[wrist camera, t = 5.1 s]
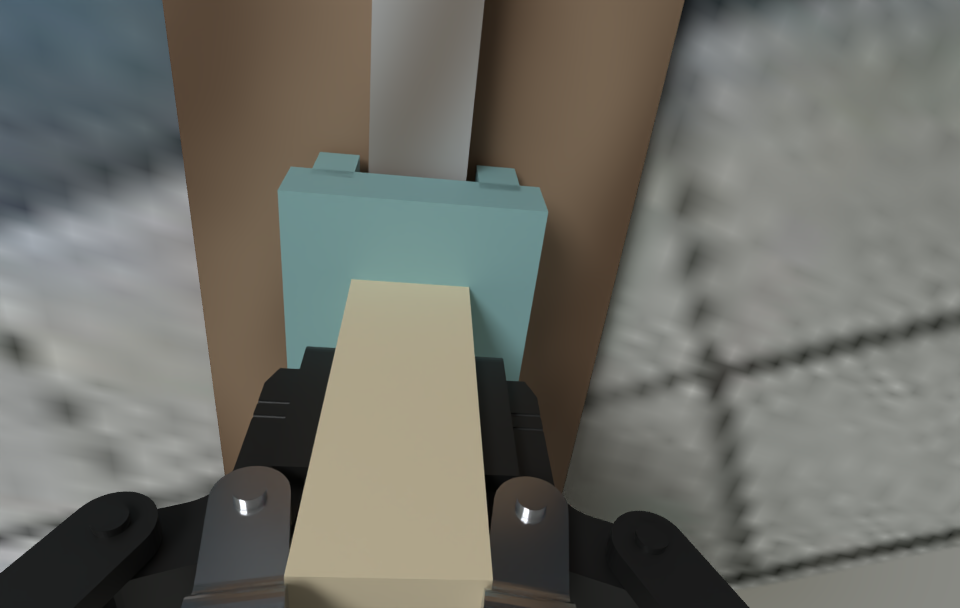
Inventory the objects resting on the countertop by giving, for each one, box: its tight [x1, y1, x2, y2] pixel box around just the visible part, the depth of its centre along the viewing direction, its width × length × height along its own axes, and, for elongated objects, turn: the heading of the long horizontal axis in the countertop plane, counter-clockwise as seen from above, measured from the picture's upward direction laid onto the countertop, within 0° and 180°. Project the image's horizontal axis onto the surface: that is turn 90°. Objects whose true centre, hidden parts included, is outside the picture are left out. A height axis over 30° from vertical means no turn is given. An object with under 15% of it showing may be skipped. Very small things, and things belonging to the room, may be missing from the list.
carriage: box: [278, 152, 548, 608], centre depth 15 cm, size 6×9×11 cm, turn 174°
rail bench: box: [162, 0, 685, 493], centre depth 15 cm, size 12×27×11 cm, turn 174°
